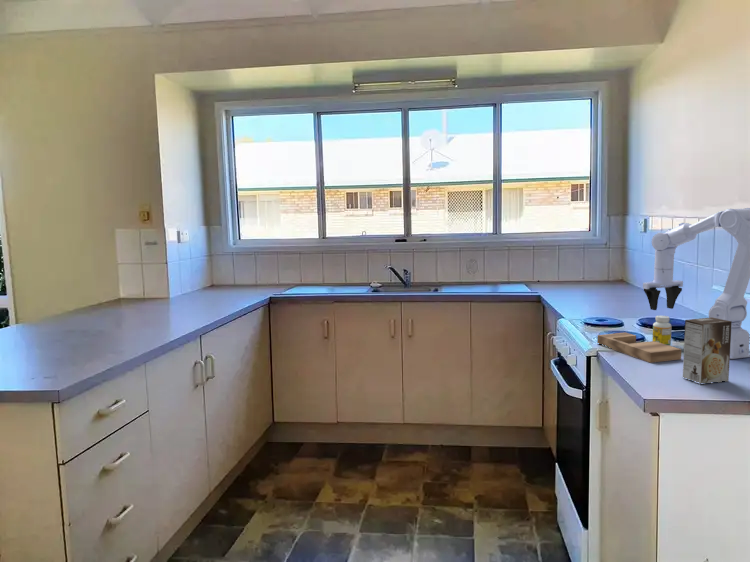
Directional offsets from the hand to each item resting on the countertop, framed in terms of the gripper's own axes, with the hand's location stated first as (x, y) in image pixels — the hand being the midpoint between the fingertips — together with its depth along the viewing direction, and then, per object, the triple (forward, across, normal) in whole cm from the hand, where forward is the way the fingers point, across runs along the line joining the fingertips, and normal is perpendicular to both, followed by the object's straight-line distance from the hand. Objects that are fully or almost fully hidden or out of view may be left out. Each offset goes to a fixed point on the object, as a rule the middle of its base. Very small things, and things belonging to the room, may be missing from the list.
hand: (661, 309), depth 198 cm
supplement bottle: (+11, +6, +7) cm, 14 cm away
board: (+10, +18, +10) cm, 23 cm away
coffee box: (+11, +22, +40) cm, 47 cm away
